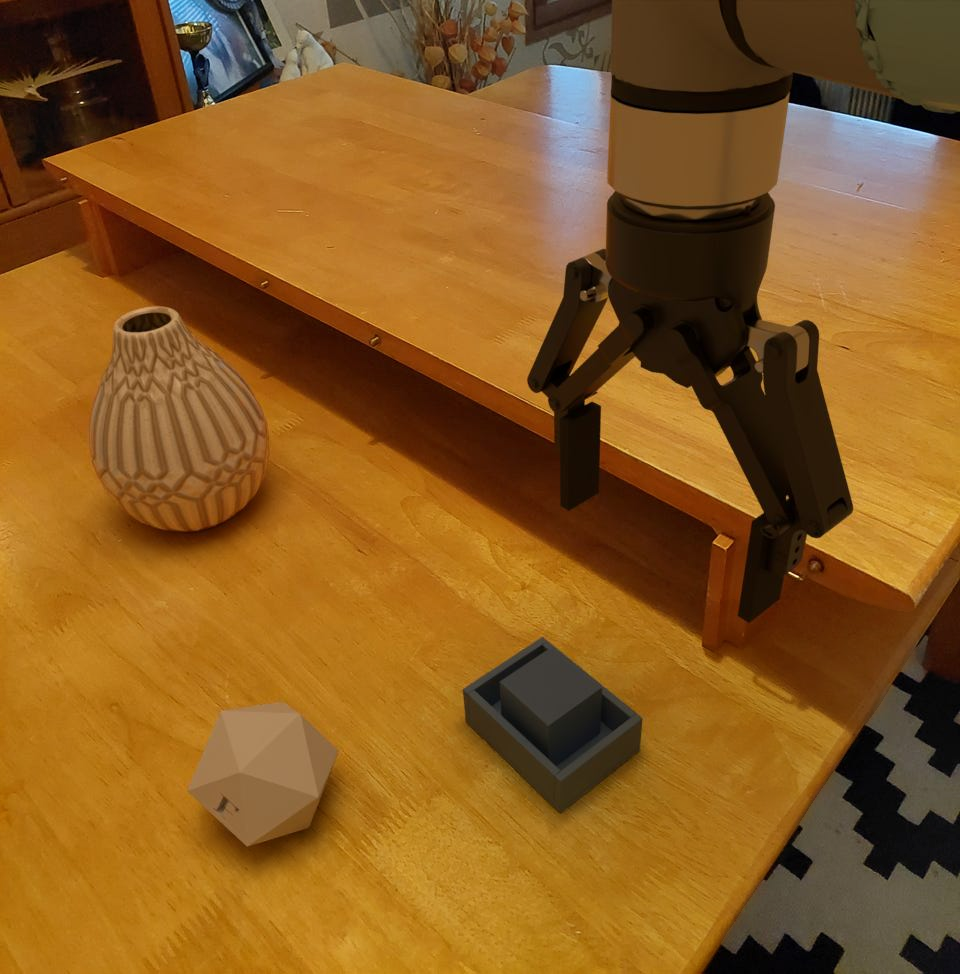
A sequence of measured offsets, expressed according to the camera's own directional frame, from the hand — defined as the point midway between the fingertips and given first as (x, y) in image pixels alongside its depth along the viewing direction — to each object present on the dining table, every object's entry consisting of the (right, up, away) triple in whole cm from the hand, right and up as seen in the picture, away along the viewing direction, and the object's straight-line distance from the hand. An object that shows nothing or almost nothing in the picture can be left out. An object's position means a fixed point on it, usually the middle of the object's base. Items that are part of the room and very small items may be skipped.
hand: (662, 549), depth 54 cm
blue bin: (-6, -14, +12) cm, 20 cm away
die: (-25, -18, +9) cm, 32 cm away
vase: (-38, +2, +36) cm, 53 cm away
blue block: (-6, -14, +12) cm, 19 cm away
